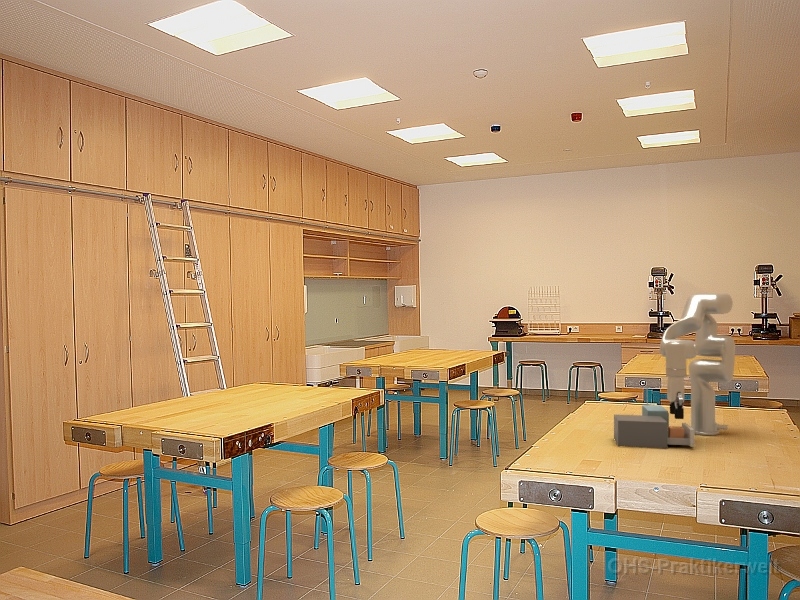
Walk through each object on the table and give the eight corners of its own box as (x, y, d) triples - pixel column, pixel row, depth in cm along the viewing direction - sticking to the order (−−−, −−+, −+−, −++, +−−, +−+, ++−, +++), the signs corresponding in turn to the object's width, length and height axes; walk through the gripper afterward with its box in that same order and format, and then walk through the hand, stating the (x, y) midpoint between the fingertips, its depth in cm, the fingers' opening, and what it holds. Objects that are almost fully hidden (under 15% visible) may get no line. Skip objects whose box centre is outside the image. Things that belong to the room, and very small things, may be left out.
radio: (671, 440, 274) (671, 391, 274) (647, 439, 275) (647, 390, 276) (664, 433, 289) (664, 386, 289) (642, 432, 291) (642, 386, 291)
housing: (660, 440, 272) (660, 416, 272) (667, 448, 257) (667, 422, 257) (613, 438, 276) (613, 414, 276) (618, 446, 261) (618, 420, 261)
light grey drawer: (685, 438, 270) (685, 422, 270) (694, 446, 255) (694, 429, 255) (641, 436, 274) (641, 421, 274) (647, 444, 259) (647, 428, 259)
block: (681, 439, 266) (681, 426, 266) (684, 441, 261) (684, 428, 261) (668, 438, 267) (668, 426, 267) (670, 441, 262) (670, 428, 262)
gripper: (662, 370, 273) (662, 412, 274) (670, 375, 256) (670, 420, 257) (681, 370, 272) (682, 412, 272) (691, 375, 255) (691, 421, 255)
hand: (676, 416), depth 264 cm, fingers open, 9 cm apart
